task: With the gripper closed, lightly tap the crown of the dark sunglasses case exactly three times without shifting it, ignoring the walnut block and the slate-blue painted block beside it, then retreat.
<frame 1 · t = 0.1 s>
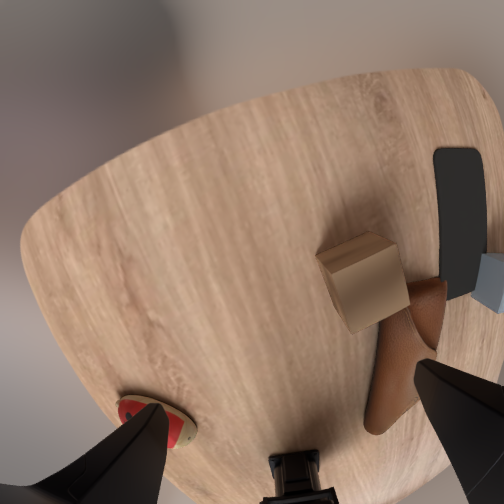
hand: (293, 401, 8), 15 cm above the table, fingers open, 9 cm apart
phone: (460, 223, 22), on the table
ladybug figurine: (159, 414, 27), on the table
sunglasses case: (401, 354, 25), on the table
walnut block: (351, 269, 22), on the table
slate block: (487, 274, 22), on the table
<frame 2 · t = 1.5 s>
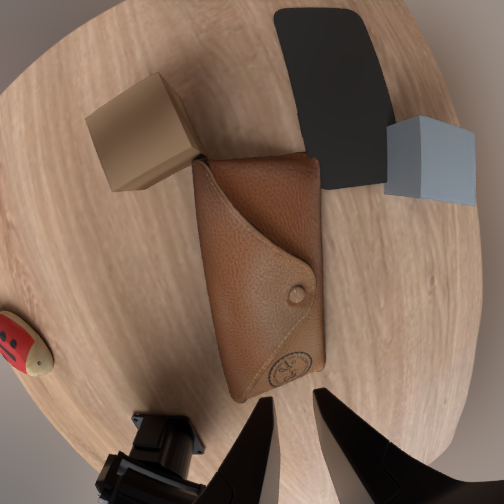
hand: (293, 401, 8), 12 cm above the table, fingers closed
phone: (338, 88, 17), on the table, touching sunglasses case
ladybug figurine: (27, 338, 22), on the table
sunglasses case: (269, 278, 20), on the table, touching phone
walnut block: (161, 142, 17), on the table
slate block: (411, 164, 18), on the table
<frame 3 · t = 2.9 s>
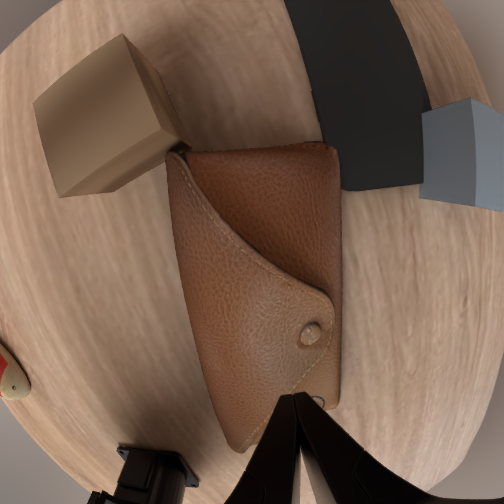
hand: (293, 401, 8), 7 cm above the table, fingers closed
phone: (361, 64, 12), on the table
ladybug figurine: (3, 357, 17), on the table
sunglasses case: (272, 306, 16), on the table
walnut block: (134, 130, 13), on the table
slate block: (449, 162, 13), on the table
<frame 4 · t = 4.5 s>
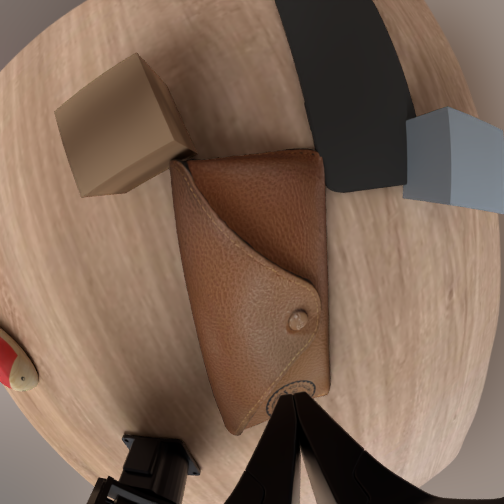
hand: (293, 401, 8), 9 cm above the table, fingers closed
phone: (351, 75, 14), on the table, touching sunglasses case
ladybug figurine: (11, 350, 19), on the table
sunglasses case: (265, 297, 17), on the table, touching phone
walnut block: (144, 137, 15), on the table
slate block: (432, 165, 15), on the table
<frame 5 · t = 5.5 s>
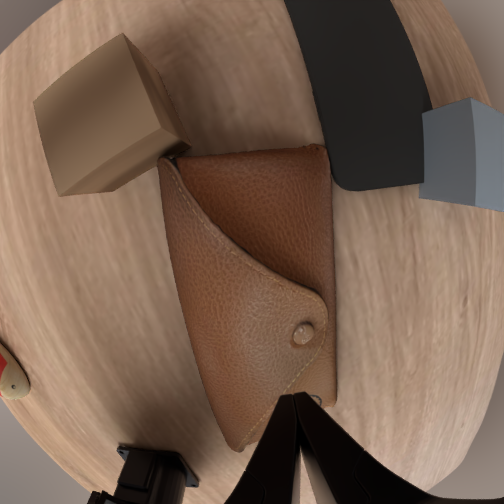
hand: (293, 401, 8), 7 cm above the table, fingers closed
phone: (362, 63, 12), on the table
ladybug figurine: (2, 357, 17), on the table
sunglasses case: (267, 306, 16), on the table
walnut block: (134, 130, 13), on the table
slate block: (448, 162, 13), on the table
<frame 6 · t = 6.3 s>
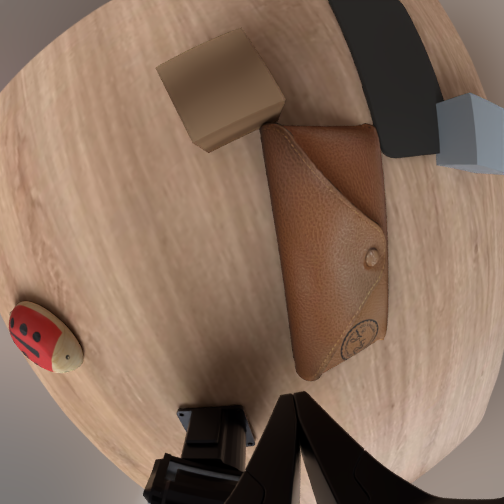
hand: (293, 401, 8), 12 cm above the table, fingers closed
phone: (392, 66, 16), on the table
ladybug figurine: (50, 331, 22), on the table
sunglasses case: (334, 247, 19), on the table
walnut block: (226, 105, 16), on the table
slate block: (456, 139, 16), on the table
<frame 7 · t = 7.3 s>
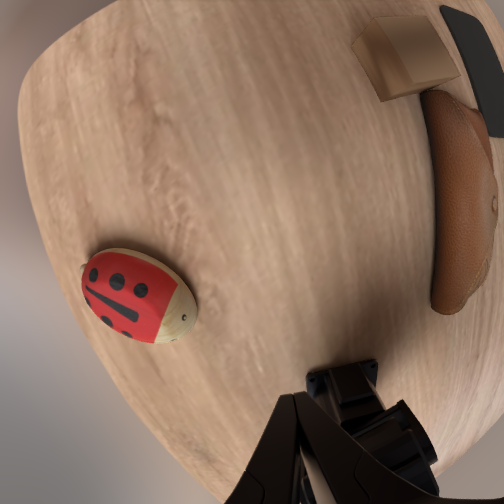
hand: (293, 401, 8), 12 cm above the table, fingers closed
phone: (481, 70, 15), on the table
ladybug figurine: (142, 290, 20), on the table
sunglasses case: (459, 199, 19), on the table
walnut block: (390, 68, 16), on the table
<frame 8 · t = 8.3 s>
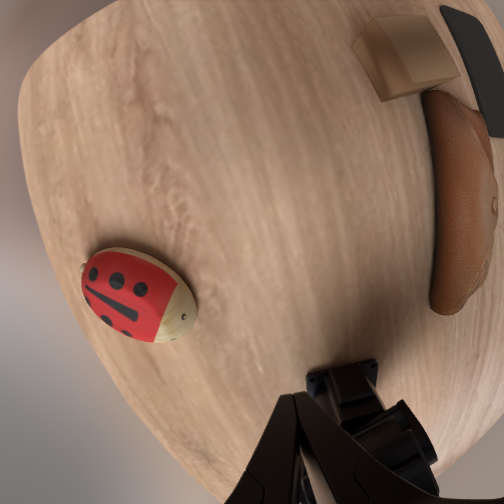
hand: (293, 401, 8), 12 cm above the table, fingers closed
phone: (482, 70, 15), on the table
ladybug figurine: (142, 290, 20), on the table
sunglasses case: (458, 200, 19), on the table
walnut block: (390, 68, 16), on the table
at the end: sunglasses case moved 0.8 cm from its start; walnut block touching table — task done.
